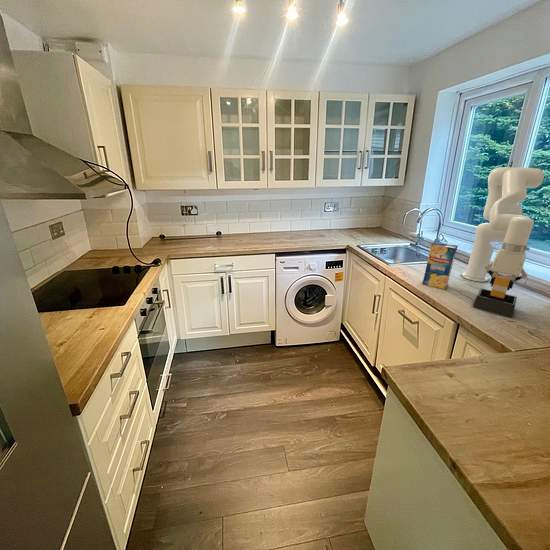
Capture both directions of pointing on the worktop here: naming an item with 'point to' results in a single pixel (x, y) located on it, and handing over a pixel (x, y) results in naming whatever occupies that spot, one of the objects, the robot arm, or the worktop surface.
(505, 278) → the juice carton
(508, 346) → the worktop surface
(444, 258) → the blue yellow food box
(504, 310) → the basket
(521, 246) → the robot arm
